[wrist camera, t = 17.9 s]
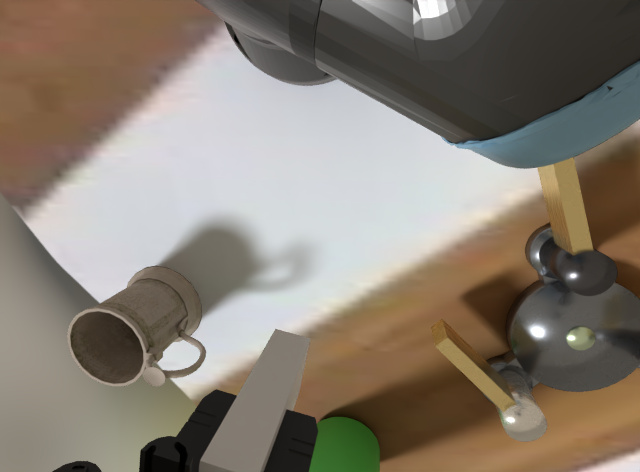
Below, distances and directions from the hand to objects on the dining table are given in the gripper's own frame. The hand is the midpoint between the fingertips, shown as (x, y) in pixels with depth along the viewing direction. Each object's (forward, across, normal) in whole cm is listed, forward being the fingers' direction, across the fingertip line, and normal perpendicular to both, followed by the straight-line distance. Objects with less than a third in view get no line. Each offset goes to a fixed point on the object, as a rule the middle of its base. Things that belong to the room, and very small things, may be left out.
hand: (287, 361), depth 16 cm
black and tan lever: (+23, +18, +6) cm, 30 cm away
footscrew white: (+23, +16, -10) cm, 30 cm away
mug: (+25, -17, -15) cm, 34 cm away
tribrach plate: (+24, +26, -5) cm, 36 cm away
